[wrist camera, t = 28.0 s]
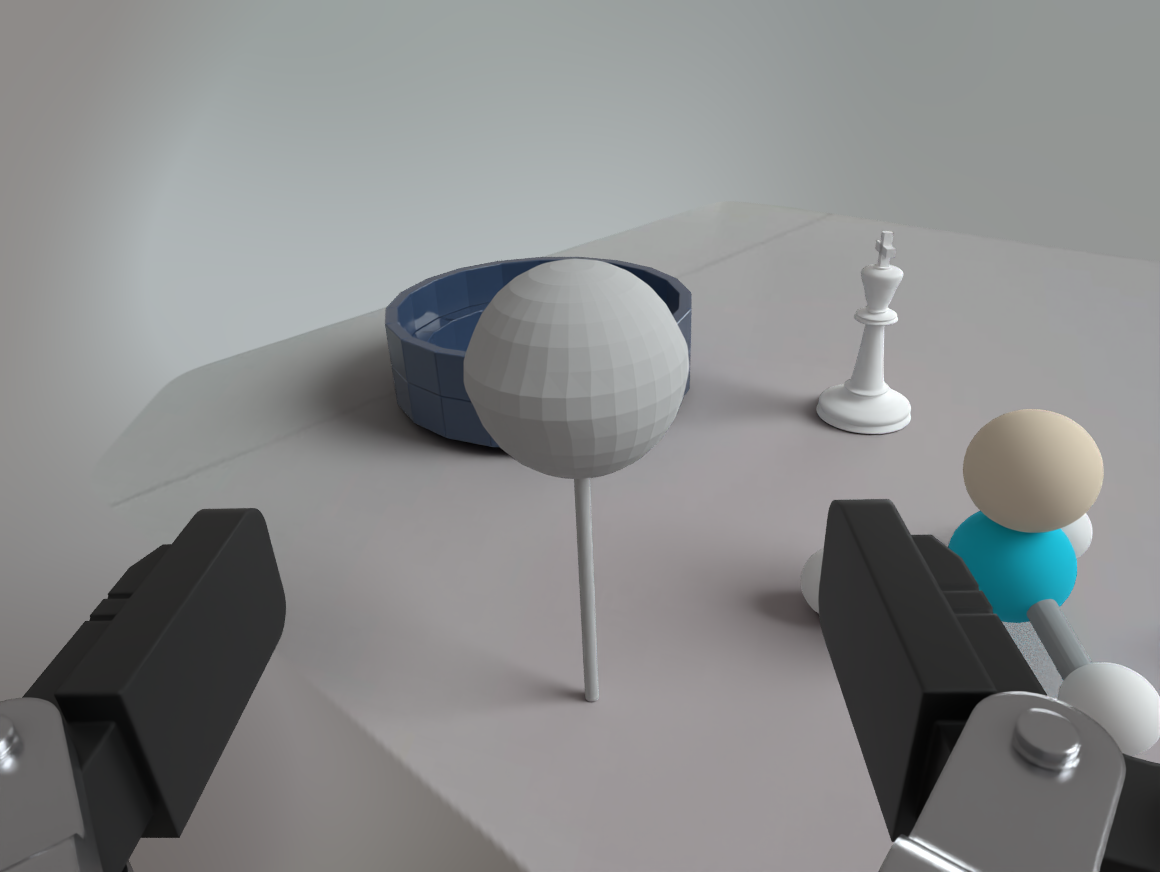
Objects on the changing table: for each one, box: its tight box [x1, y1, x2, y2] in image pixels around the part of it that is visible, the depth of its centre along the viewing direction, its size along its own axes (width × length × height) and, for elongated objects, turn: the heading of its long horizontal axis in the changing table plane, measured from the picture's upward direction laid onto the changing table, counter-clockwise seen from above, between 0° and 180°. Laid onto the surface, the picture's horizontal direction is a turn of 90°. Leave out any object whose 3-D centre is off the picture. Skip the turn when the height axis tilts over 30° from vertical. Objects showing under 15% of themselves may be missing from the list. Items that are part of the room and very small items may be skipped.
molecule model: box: [801, 409, 1160, 756], centre depth 28 cm, size 12×12×9 cm
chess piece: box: [816, 231, 911, 434], centre depth 43 cm, size 5×5×10 cm
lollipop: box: [464, 259, 689, 702], centre depth 25 cm, size 6×6×15 cm
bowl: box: [385, 257, 692, 447], centre depth 49 cm, size 17×17×6 cm
